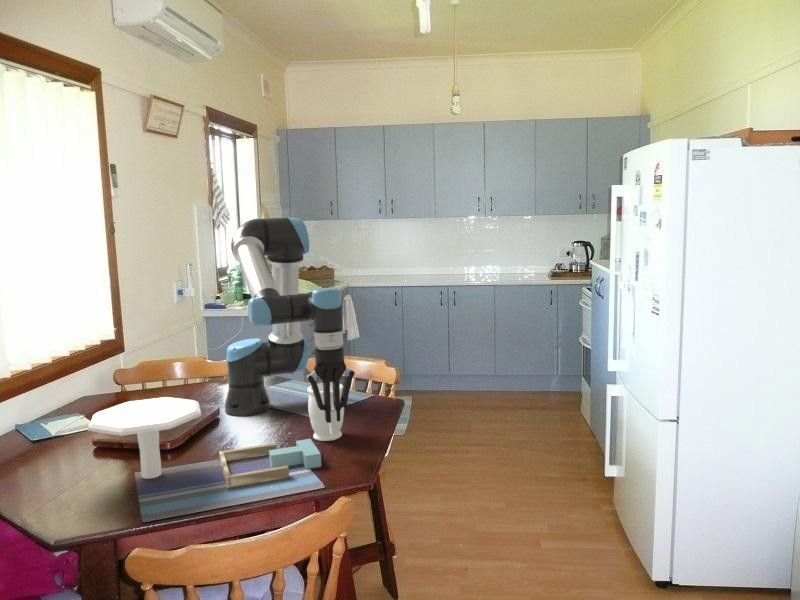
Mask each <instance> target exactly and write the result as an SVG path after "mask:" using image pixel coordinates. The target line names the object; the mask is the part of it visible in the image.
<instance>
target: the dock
mask: <svg viewBox="0 0 800 600" xmlns="http://www.w3.org/2000/svg"><path fill="white" fill-rule="evenodd" d="M275 449H278V447H277V442H272V443H265V444H260V445H253V446H246V447H240V448H239V447H238V448H233V449H227V450H220V451H218V452H219V463H220V465H221V470H222V475H223V478H224V482H225V486H226V488H227V489H231V488H234V487H235V488H236V487H240V486H241V487H243V486H246V485H252V484H253V485H254V484H258V483H264V482H269V481H270V482H271V481H276V480H282V479H288V478H290V468H289V467H290V466H282V467H276V468H272V467H270V468H265V469H258V470H253V471H247V472H241V473H234V474H231V473H230V470H229V467H228V464H227V462H231V461H239V460H244V459H249V458H250V459H252V458H257V457H263V456H269V450H275Z"/></svg>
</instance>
